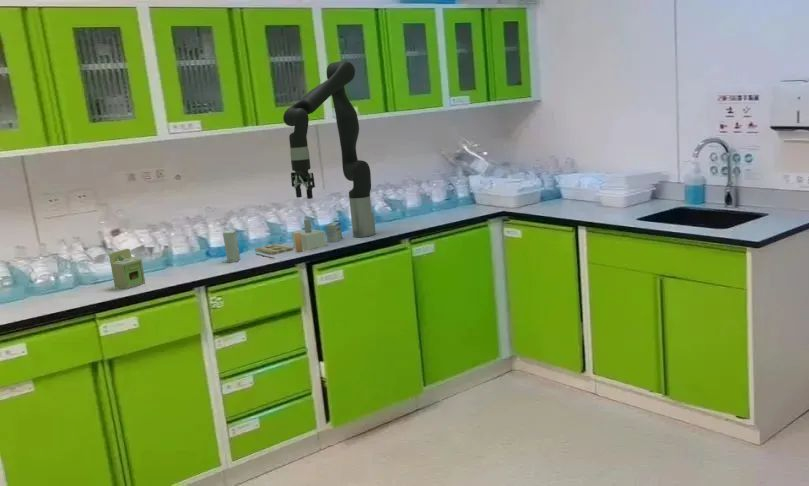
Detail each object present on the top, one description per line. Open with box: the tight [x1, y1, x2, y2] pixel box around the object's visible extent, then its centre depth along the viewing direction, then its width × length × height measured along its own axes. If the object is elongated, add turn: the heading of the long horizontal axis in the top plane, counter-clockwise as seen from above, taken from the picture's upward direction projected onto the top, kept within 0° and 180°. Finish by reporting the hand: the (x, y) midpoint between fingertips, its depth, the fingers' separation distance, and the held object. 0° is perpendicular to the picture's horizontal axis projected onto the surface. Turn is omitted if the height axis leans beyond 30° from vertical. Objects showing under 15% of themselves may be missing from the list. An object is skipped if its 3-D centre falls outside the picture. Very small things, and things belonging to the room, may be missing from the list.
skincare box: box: [222, 229, 241, 263], centre depth 305 cm, size 6×4×12 cm
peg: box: [295, 233, 304, 253], centre depth 305 cm, size 2×2×9 cm
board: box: [293, 244, 328, 251], centre depth 314 cm, size 10×12×6 cm
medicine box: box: [325, 221, 343, 243], centre depth 322 cm, size 8×4×9 cm, turn 168°
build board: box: [254, 243, 294, 259], centre depth 312 cm, size 10×14×2 cm
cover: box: [291, 219, 327, 251], centre depth 313 cm, size 9×11×11 cm
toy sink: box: [108, 248, 146, 290], centre depth 277 cm, size 8×7×13 cm
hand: (304, 197), depth 310 cm, fingers open, 8 cm apart
